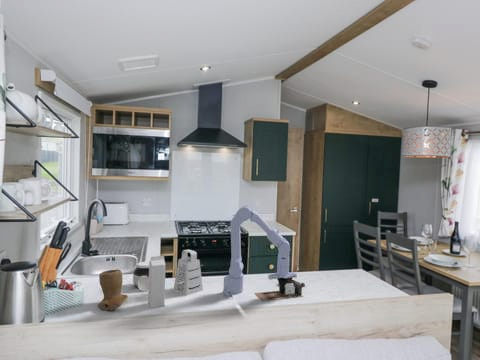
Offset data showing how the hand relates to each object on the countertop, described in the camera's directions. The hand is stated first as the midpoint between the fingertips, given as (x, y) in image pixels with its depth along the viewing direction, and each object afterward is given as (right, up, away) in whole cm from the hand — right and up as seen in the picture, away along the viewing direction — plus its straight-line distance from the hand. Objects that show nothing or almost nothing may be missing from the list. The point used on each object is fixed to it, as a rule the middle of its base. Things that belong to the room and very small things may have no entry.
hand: (281, 292), depth 161 cm
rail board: (-2, -2, 0) cm, 3 cm away
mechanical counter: (+8, -2, +15) cm, 17 cm away
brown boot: (-78, 0, -15) cm, 80 cm away
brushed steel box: (+4, -1, 0) cm, 4 cm away
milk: (-58, -1, -14) cm, 60 cm away
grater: (-47, -1, +5) cm, 47 cm away
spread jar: (-70, 0, +7) cm, 70 cm away
